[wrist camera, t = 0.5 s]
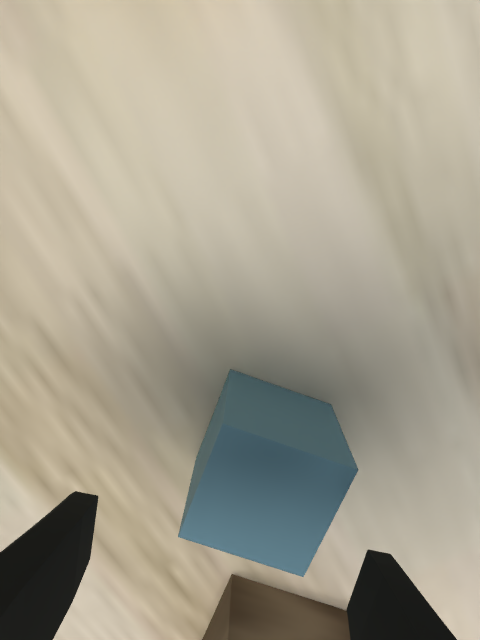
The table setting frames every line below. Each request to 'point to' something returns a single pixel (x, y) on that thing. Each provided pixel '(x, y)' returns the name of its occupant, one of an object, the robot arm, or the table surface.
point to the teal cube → (267, 475)
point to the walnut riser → (273, 615)
